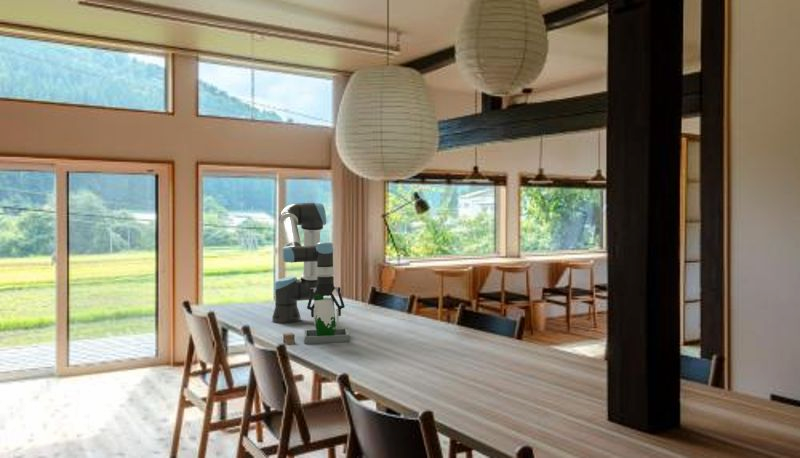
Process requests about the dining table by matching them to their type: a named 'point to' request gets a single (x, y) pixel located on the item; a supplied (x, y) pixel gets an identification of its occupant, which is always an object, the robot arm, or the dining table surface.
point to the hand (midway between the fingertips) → (326, 323)
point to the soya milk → (324, 316)
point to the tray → (326, 337)
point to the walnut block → (288, 338)
